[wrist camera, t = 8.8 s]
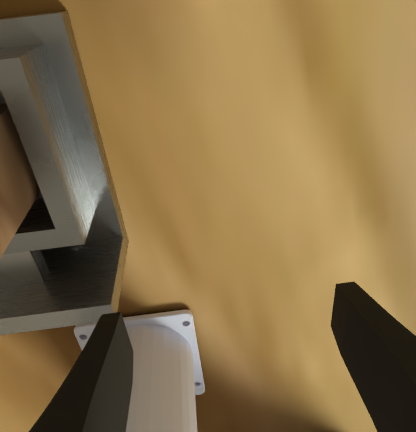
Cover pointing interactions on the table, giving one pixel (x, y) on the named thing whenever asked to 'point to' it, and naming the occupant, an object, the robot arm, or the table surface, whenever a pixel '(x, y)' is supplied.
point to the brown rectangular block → (13, 180)
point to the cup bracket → (58, 185)
